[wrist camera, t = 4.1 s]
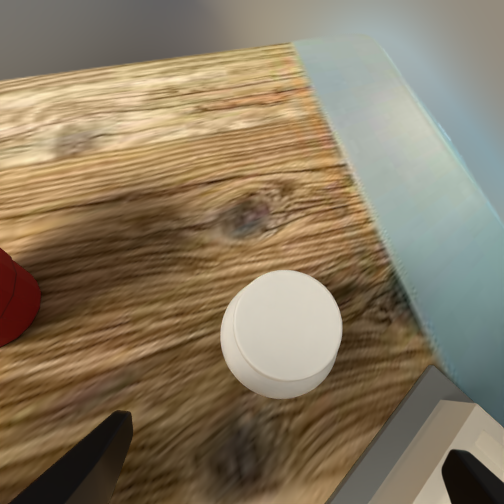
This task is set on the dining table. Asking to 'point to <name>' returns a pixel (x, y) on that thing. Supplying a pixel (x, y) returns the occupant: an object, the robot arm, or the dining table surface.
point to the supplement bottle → (281, 334)
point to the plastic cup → (16, 299)
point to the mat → (395, 437)
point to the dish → (442, 453)
